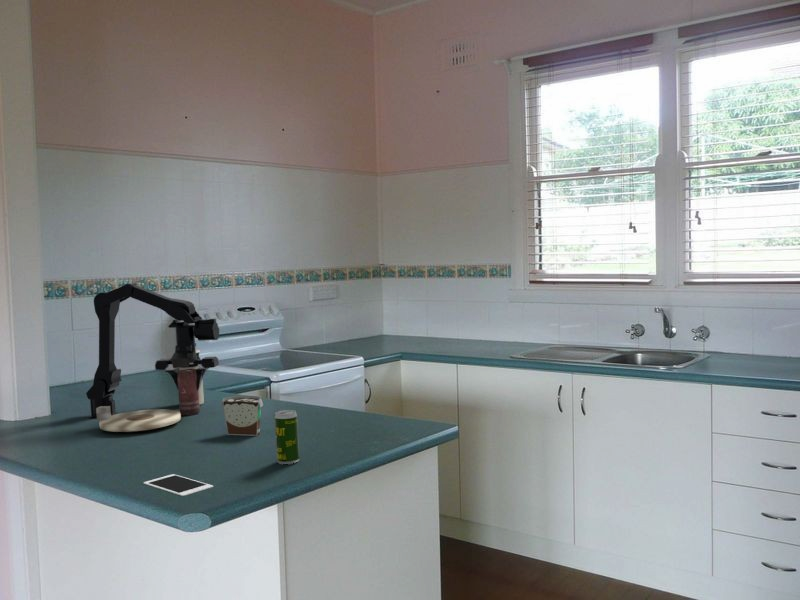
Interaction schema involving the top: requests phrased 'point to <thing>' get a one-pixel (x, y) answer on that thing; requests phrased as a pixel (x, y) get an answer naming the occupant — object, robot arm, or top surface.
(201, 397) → the travel mug
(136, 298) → the robot arm
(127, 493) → the top surface
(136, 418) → the turntable
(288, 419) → the beer can
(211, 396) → the top surface
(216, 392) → the top surface
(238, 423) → the food container
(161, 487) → the cell phone
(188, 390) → the can
